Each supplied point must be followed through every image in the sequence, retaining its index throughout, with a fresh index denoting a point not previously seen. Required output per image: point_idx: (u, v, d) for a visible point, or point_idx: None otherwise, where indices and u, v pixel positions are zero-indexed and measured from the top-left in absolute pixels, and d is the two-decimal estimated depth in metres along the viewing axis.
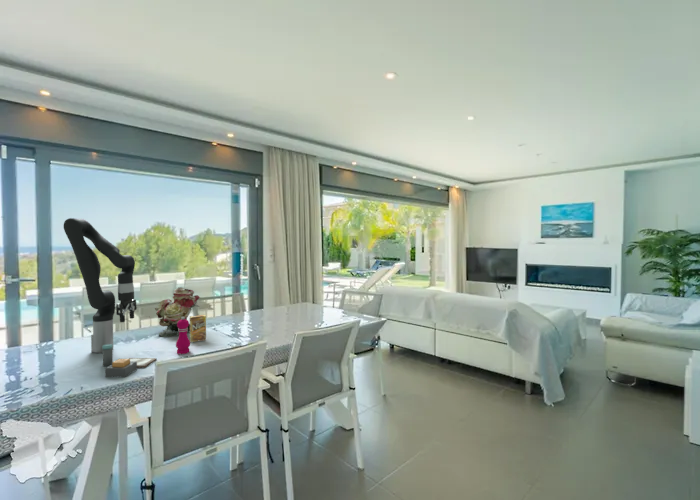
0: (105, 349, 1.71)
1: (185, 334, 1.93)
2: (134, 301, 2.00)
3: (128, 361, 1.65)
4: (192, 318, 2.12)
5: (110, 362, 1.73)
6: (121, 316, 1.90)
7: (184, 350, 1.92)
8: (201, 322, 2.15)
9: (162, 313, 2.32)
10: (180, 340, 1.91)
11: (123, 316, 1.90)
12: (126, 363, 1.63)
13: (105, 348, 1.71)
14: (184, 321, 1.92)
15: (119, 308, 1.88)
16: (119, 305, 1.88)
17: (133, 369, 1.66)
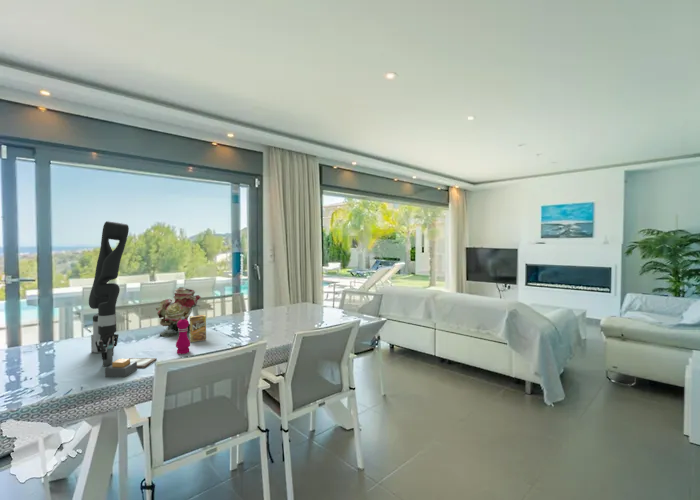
0: None
1: (185, 334, 1.93)
2: (116, 336, 1.78)
3: (128, 361, 1.65)
4: (192, 318, 2.12)
5: (110, 362, 1.73)
6: (103, 353, 1.70)
7: (184, 350, 1.92)
8: (201, 322, 2.15)
9: (163, 313, 2.32)
10: (180, 340, 1.91)
11: (105, 353, 1.71)
12: (126, 363, 1.63)
13: None
14: (184, 321, 1.92)
15: (99, 346, 1.67)
16: (99, 343, 1.67)
17: (133, 369, 1.66)
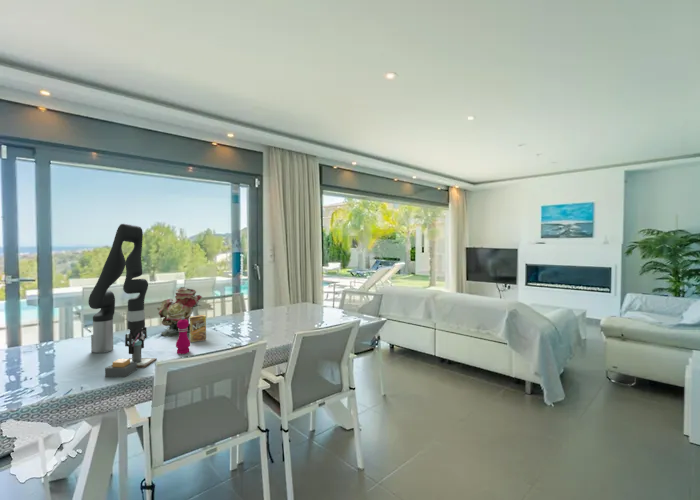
0: (135, 346, 1.74)
1: (185, 334, 1.93)
2: (144, 329, 1.81)
3: (128, 361, 1.65)
4: (192, 318, 2.12)
5: (139, 359, 1.75)
6: (130, 347, 1.70)
7: (184, 350, 1.92)
8: (201, 322, 2.15)
9: (164, 313, 2.33)
10: (180, 340, 1.91)
11: (132, 347, 1.71)
12: (126, 363, 1.63)
13: (135, 345, 1.73)
14: (184, 321, 1.92)
15: (128, 339, 1.68)
16: (128, 335, 1.68)
17: (133, 369, 1.66)
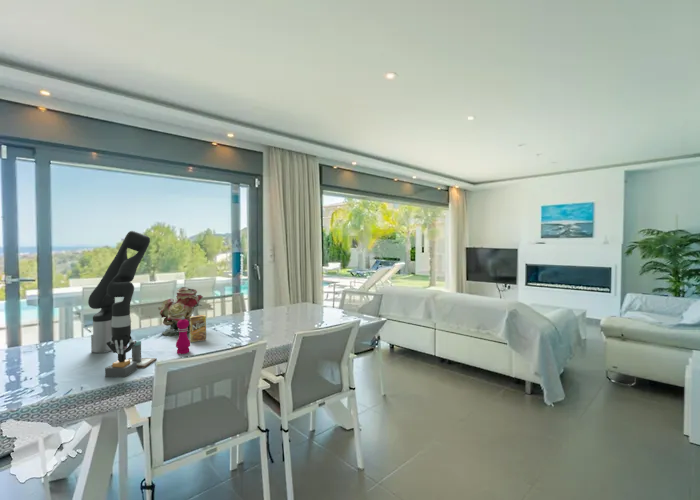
0: (134, 345, 1.74)
1: (185, 334, 1.93)
2: (130, 343, 1.62)
3: (128, 362, 1.65)
4: (192, 318, 2.12)
5: (139, 358, 1.75)
6: None
7: (184, 350, 1.92)
8: (201, 322, 2.15)
9: (165, 312, 2.34)
10: (180, 340, 1.91)
11: (119, 355, 1.63)
12: (126, 364, 1.63)
13: None
14: (184, 321, 1.92)
15: None
16: None
17: (133, 369, 1.66)
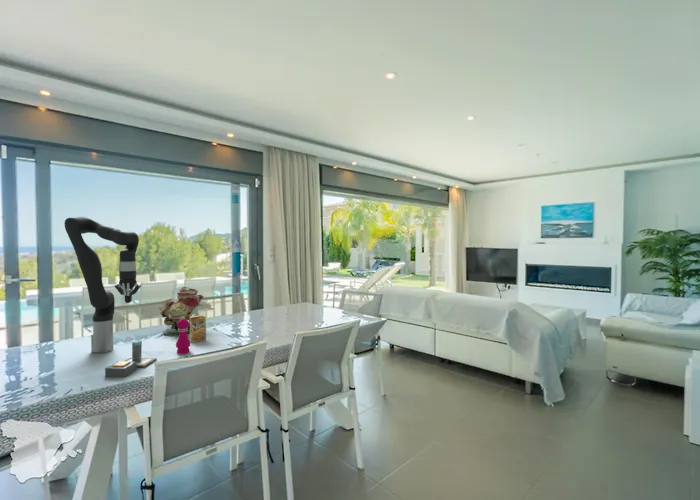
0: (135, 345, 1.74)
1: (185, 334, 1.93)
2: (136, 286, 1.83)
3: None
4: (192, 318, 2.12)
5: (139, 358, 1.75)
6: None
7: (184, 350, 1.92)
8: (201, 322, 2.15)
9: (166, 312, 2.34)
10: (180, 340, 1.91)
11: (125, 297, 1.83)
12: None
13: (135, 344, 1.74)
14: (184, 321, 1.92)
15: None
16: None
17: (133, 369, 1.66)
